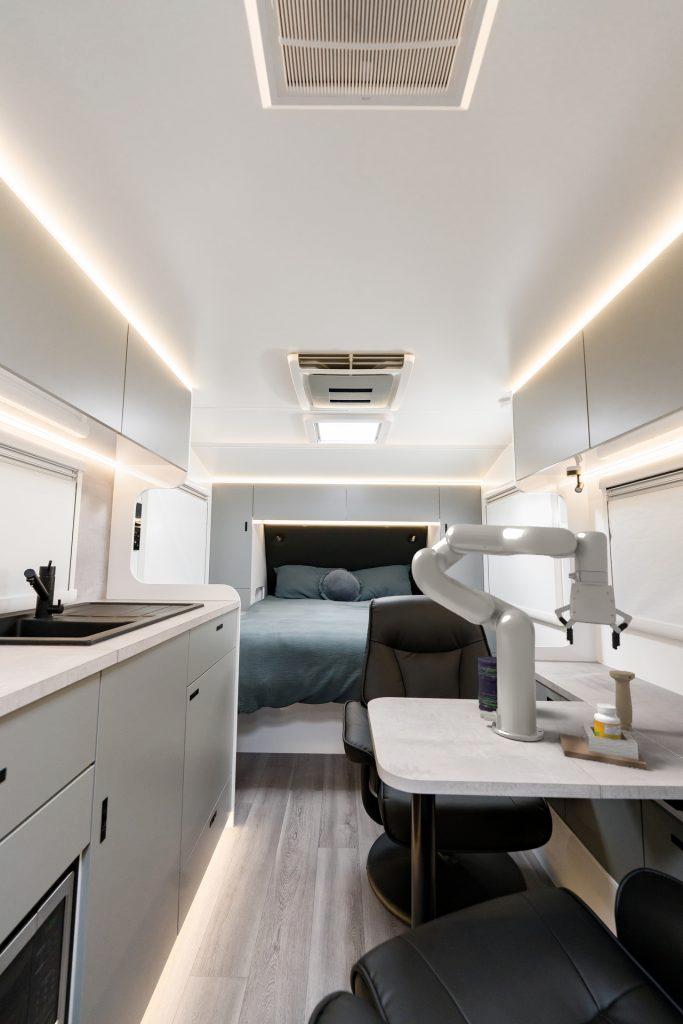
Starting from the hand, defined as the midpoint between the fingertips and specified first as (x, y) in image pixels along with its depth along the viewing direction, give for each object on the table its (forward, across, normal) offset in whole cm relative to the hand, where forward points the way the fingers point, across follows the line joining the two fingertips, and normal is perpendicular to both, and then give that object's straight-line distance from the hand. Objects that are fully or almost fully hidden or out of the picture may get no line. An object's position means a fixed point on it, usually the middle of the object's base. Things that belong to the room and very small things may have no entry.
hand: (592, 646), depth 109 cm
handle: (+24, +9, +18) cm, 31 cm away
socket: (+22, +2, -5) cm, 23 cm away
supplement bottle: (+23, +2, -5) cm, 23 cm away
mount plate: (+24, +1, -5) cm, 24 cm away
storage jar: (+24, -25, +16) cm, 38 cm away
